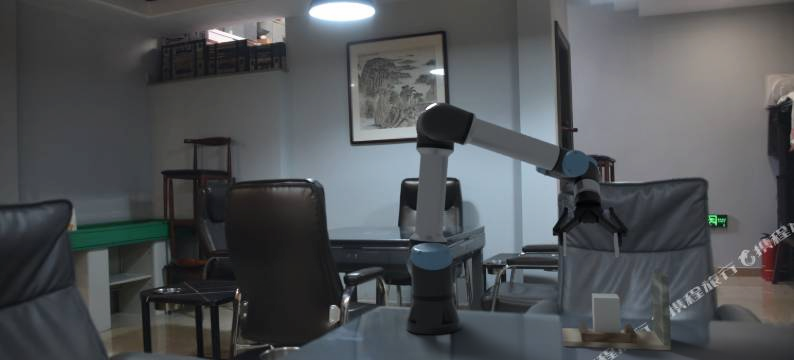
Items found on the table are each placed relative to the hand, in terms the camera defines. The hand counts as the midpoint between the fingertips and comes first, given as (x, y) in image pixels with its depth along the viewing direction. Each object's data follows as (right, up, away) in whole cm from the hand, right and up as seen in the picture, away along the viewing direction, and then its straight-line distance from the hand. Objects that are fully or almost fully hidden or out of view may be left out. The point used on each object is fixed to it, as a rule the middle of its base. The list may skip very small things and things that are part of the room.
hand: (590, 254), depth 157 cm
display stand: (+1, -20, -14) cm, 24 cm away
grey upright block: (-1, -19, -14) cm, 23 cm away
